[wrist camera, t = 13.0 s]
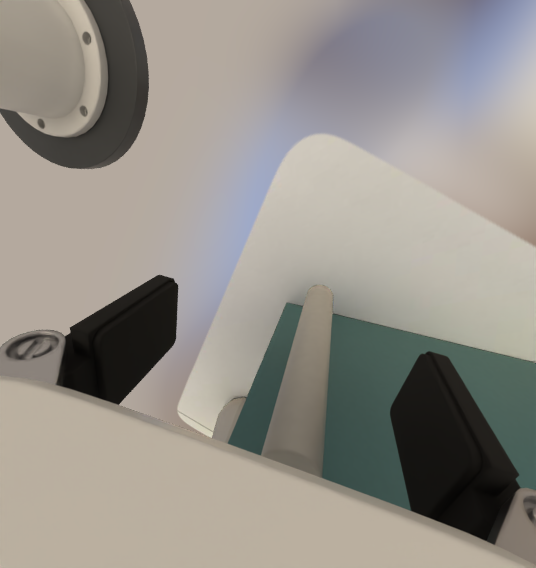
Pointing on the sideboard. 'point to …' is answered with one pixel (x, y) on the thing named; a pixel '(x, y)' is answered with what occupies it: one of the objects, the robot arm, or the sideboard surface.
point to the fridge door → (368, 398)
